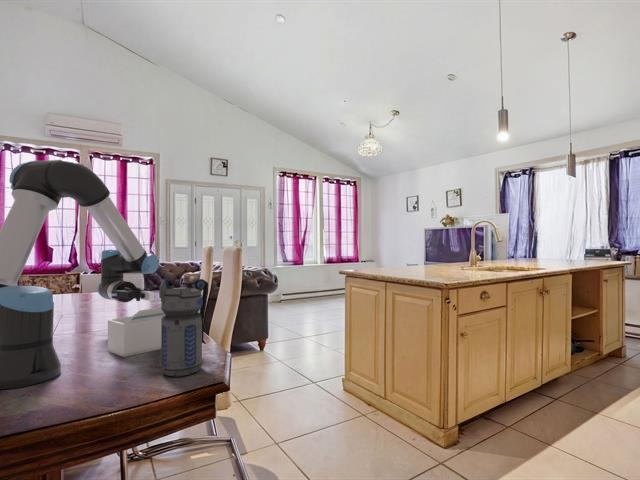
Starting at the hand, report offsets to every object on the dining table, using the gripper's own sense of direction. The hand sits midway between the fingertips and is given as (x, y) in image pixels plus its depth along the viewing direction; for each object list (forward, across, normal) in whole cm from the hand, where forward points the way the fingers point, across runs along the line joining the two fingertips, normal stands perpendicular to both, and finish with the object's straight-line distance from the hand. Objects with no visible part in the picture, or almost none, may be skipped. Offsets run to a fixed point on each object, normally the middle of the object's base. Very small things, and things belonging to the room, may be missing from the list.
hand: (151, 296), depth 118 cm
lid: (+8, +1, -4) cm, 9 cm away
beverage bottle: (+28, +4, -18) cm, 33 cm away
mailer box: (-5, +1, -18) cm, 18 cm away
